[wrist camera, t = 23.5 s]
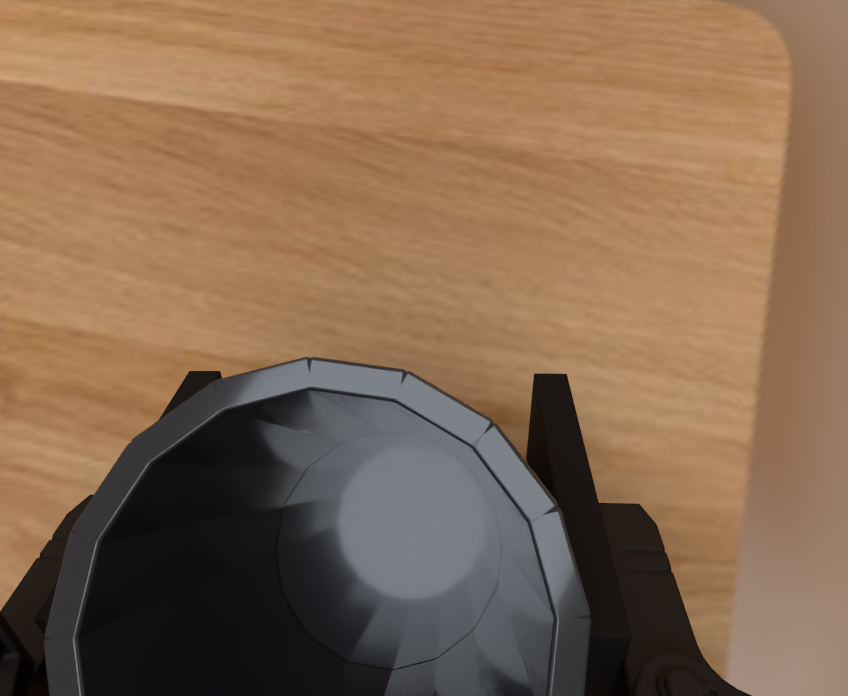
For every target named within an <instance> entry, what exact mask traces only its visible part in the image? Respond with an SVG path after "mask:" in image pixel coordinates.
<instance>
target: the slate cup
mask: <svg viewBox="0 0 848 696" xmlns="http://www.w3.org/2000/svg"><path fill="white" fill-rule="evenodd" d="M72 530H73V531H71V532H70V534H69V537H68V541H67V545H66V549H65V553H64V557H63V561H62V565H61V569H60V573H59V577H58V581H57V585H56V589H55V593H54V597H53V601H52V605H51V609H50V613H49V617H48V621H47V625H46V629H45V633H44V638H46V639H45V640H44V643H43V645H44V654H45V663H46V672H47V681H48V691H49V696H585V689H586V677H587V666H588V655H589V644H590V633H591V618H590V617H589V616H590V615H591V611H590V608H589V604H588V601H587V597H586V594H585V590H584V587H583V583H582V580H581V576H580V573H579V569H578V566H577V563H576V559H575V556H574V552H573V549H572V545H571V542H570V538H569V535H568V531H567V528H566V524H565V521H564V517H563V514H562V511H561V509H560V508H558V503H557V502H556V500H555V499H554V498H553V496H552V495H551V494H550V492H549V491H548V490H547V489H546V487H545V486H544V485H543V483H542V482H541V481H540V479H539V478H538V477H537V476H536V474H535V473H534V472H533V470H532V469H531V468H530V466H529V465H528V464H527V463H526V461H525V460H524V459H523V457H522V456H521V455H520V453H519V452H518V451H517V449H516V448H515V447H514V446H513V444H512V443H511V442H510V440H509V439H508V438H507V436H506V435H505V434H504V433H503V431H502V430H501V429H500V427H499V426H498V425H497V424H496V423H493V420H492V419H490V418H489V417H487V416H485V415H484V414H482V413H480V412H479V411H477V410H475V409H473V408H472V407H470V406H468V405H467V404H465V403H463V402H461V401H460V400H458V399H456V398H455V397H453V396H451V395H450V394H448V393H446V392H444V391H443V390H441V389H439V388H438V387H436V386H434V385H432V384H431V383H429V382H427V381H426V380H424V379H422V378H421V377H419V376H417V375H415V374H414V373H412V372H410V371H407V372H406V371H405V370H404V369H398V368H391V367H384V366H376V365H369V364H362V363H355V362H347V361H340V360H333V359H326V358H319V357H311V358H309V357H304V358H300V359H296V360H292V361H288V362H284V363H280V364H276V365H272V366H269V367H265V368H261V369H257V370H253V371H249V372H245V373H241V374H237V375H233V376H230V377H226V378H222V379H218V380H216V381H214V382H212V383H210V384H208V385H207V386H206V387H204V388H203V389H201V390H200V391H199V392H197V393H196V394H195V395H193V396H192V397H190V398H189V399H188V400H186V401H185V402H183V403H182V404H181V405H179V406H178V407H176V408H175V409H174V410H172V411H171V412H169V413H168V414H167V415H165V416H164V417H163V418H161V419H160V420H158V421H157V422H156V423H154V424H153V425H151V426H150V427H149V428H147V429H146V430H144V431H143V432H142V433H140V434H139V435H138V436H136V437H135V438H133V439H132V442H131V443H129V444H128V445H127V446H126V448H125V449H124V451H123V452H122V454H121V455H120V457H119V458H118V460H117V461H116V463H115V464H114V466H113V467H112V469H111V470H110V472H109V473H108V475H107V476H106V478H105V479H104V481H103V482H102V484H101V485H100V487H99V488H98V490H97V491H96V493H95V494H94V496H93V497H92V499H91V500H90V502H89V503H88V505H87V506H86V507H85V509H84V510H83V512H82V513H81V515H80V516H79V518H78V519H77V521H76V522H75V524H74V525H73V527H72Z"/></svg>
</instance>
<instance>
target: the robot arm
mask: <svg viewBox="0 0 848 696" xmlns="http://www.w3.org/2000/svg"><path fill="white" fill-rule="evenodd" d="M218 379H222V377H221V373H220V371H189V373H188V374H187V376H186V378H185V379H184V381H183V382H182V384H181V386H180V387H179V389H178V390H177V392H176V393H175V395H174V397H173V398H172V400H171V401H170V403H169V405H168V406H167V408H166V409H165V411H164V413H163V414H162V416H161V417H160V419H161V418H163V417H164V416H165V415H167V414H168V413H169V412H171V411H172V410H174V409H175V408H176V407H178V406H179V405H181V404H182V403H183V402H185V401H186V400H188V399H189V398H190V397H192V396H193V395H195V394H196V393H197V392H199V391H200V390H201V389H203V388H204V387H206V386H207V385H208V384H210V383H212V382H214V381H216V380H218ZM160 419H159V420H160ZM526 459H527V464H528V465H529V466H530V468H531V469H532V470H533V472H534V473H535V474H536V476H537V477H538V478H539V479H540V481H541V482H542V483H543V485H544V486H545V487H546V489H547V490H548V491H549V492H550V494H551V495H552V496H553V498H554V499H555V500H556V502H557V503H558V508H560V509H561V511H562V514H563V517H564V521H565V524H566V528H567V531H568V535H569V538H570V542H571V545H572V549H573V552H574V556H575V559H576V563H577V566H578V569H579V573H580V576H581V580H582V583H583V587H584V590H585V594H586V597H587V601H588V604H589V608H590V611H591V615H590V616H589V617H590V618H591V633H590V644H589V655H588V666H587V677H586V689H585V696H751V695H749V694H747V693H745V692H742V691H740V690H738V689H736V688H735V687H733V686H732V685H730V684H729V683H727V682H726V681H724V680H723V679H722V678H721V677H720V676H719V675H718V674H717V673H716V672H715V671H714V670H713V669H712V668H711V667H710V666H709V664H708V663H707V662H706V660H705V659H704V657H703V656H702V654H701V652H700V649H699V647H698V645H697V642H696V640H695V637H694V634H693V631H692V628H691V625H690V622H689V619H688V616H687V613H686V610H685V607H684V604H683V601H682V598H681V595H680V592H679V589H678V586H677V583H676V580H675V578H674V575H673V573H672V572H671V566H670V563H669V560H668V557H667V554H666V553H665V548H664V545H663V542H662V539H661V536H660V533H659V530H658V527H657V525H656V523H655V522H654V521H653V520H652V519H651V517H650V516H649V515H648V514H647V513H646V512H645V510H644V509H643V508H642V507H641V506H640V504H619V503H599V502H598V498H597V494H596V490H595V486H594V482H593V478H592V474H591V470H590V466H589V462H588V458H587V454H586V450H585V446H584V442H583V438H582V434H581V430H580V426H579V422H578V418H577V414H576V410H575V406H574V402H573V398H572V394H571V390H570V386H569V382H568V378H567V374H534V381H533V392H532V403H531V414H530V425H529V436H528V447H527V457H526ZM93 496H94V495H89V496H88V497H87V498H86V499H85V500H83V501H82V502H81V503H80V504H79V505H77V506H76V507H75V508H74V509H73V510H71V511H70V512H69V513H68V514H67V515H66V517H65V518H64V520H63V521H62V522H61V524H60V525H59V527H58V528H57V530H56V531H55V533H54V534H53V536H52V537H53V538H52V540H49V541H48V543H47V544H46V546H45V547H44V549H43V550H42V552H41V553H40V558H37V559H36V560H35V562H34V563H33V565H32V566H31V568H30V569H29V571H28V572H27V574H26V575H25V576H24V578H23V579H22V581H21V582H20V584H19V585H18V587H17V588H16V590H15V591H14V592H13V594H12V595H11V597H10V598H9V600H8V601H7V603H6V604H5V606H4V607H3V609H2V610H1V611H0V696H49V691H48V681H47V672H46V663H45V654H44V645H43V643H44V640H45V639H46V638H44V633H45V629H46V625H47V621H48V617H49V613H50V609H51V605H52V601H53V597H54V593H55V589H56V585H57V581H58V577H59V573H60V569H61V565H62V561H63V557H64V553H65V549H66V545H67V541H68V537H69V534H70V532H71V531H73V530H72V527H73V525H74V524H75V522H76V521H77V519H78V518H79V516H80V515H81V513H82V512H83V510H84V509H85V507H86V506H87V505H88V503H89V502H90V500H91V499H92V497H93Z"/></svg>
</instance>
